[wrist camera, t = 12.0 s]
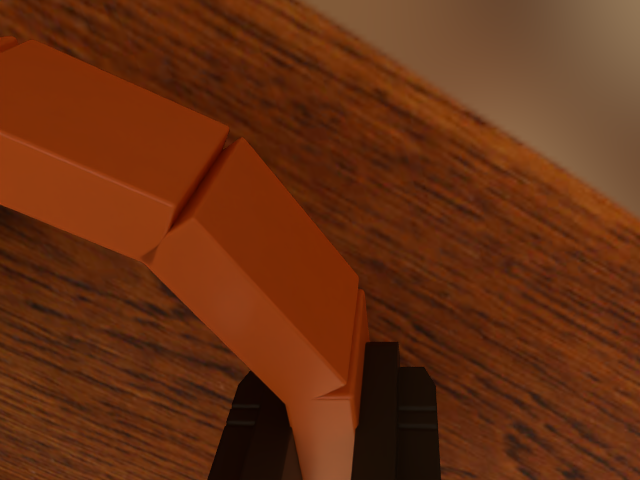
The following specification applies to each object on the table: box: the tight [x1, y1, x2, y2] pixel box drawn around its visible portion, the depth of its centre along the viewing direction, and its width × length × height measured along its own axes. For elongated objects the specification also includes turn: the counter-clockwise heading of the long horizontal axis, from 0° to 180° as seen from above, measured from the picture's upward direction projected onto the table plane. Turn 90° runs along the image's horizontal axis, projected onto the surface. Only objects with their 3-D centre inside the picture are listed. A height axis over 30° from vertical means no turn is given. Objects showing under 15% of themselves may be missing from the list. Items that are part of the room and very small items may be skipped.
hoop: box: [0, 36, 370, 480], centre depth 13 cm, size 15×15×3 cm
